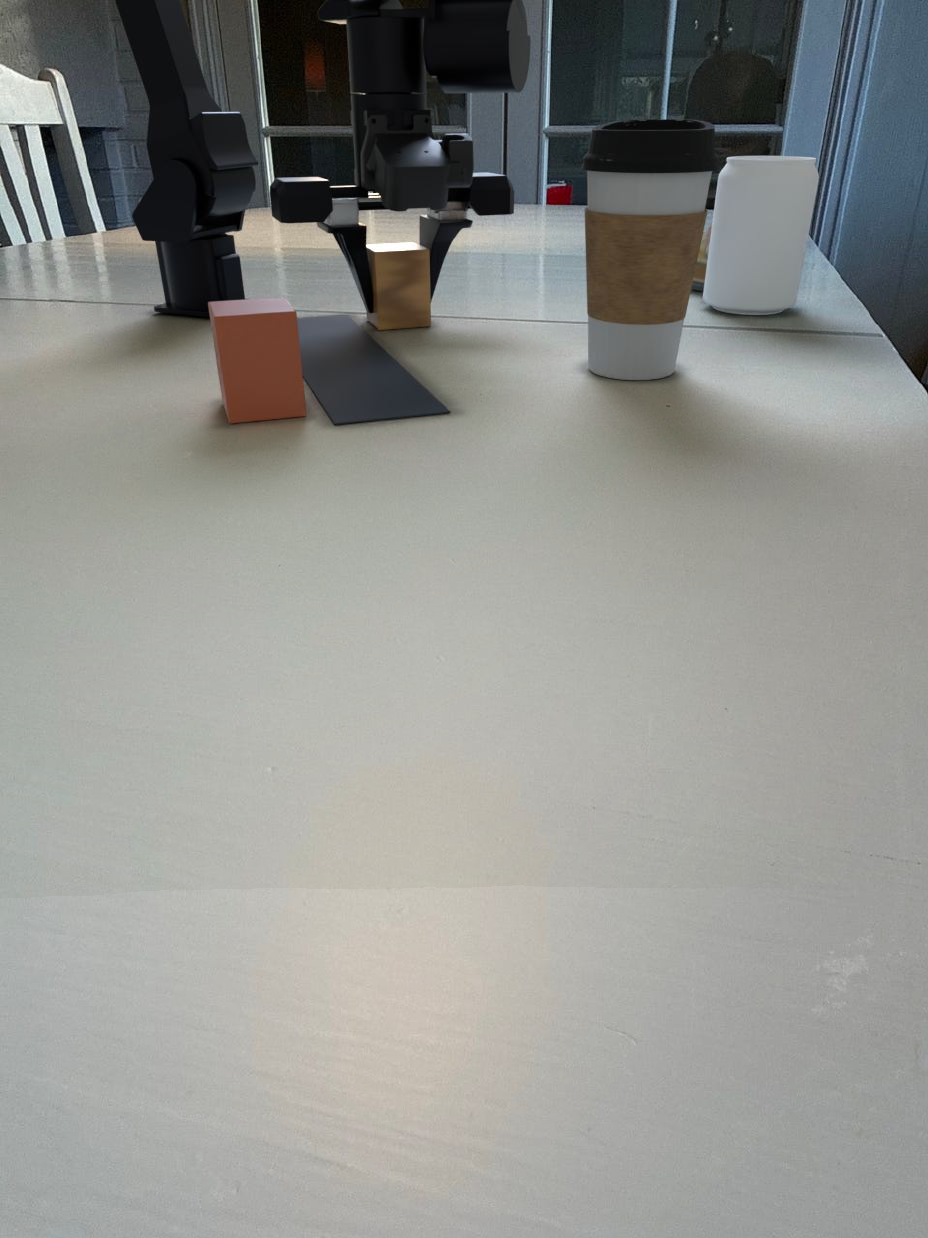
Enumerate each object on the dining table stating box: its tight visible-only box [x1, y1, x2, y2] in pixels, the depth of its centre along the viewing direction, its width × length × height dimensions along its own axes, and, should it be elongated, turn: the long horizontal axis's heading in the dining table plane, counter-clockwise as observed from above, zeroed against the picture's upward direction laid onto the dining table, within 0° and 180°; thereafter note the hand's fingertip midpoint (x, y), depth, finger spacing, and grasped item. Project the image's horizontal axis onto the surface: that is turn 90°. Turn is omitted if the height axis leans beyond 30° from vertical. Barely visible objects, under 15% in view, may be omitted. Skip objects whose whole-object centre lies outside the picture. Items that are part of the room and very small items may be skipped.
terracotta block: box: [208, 296, 307, 425], centre depth 51 cm, size 4×4×6 cm
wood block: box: [365, 241, 432, 331], centre depth 72 cm, size 4×4×6 cm
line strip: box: [297, 314, 451, 426], centre depth 63 cm, size 30×7×1 cm, turn 18°
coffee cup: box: [581, 118, 720, 381], centre depth 56 cm, size 8×8×15 cm
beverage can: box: [702, 155, 820, 316], centre depth 75 cm, size 8×8×12 cm
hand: (397, 310), depth 73 cm, fingers closed on wood block, 4 cm apart
